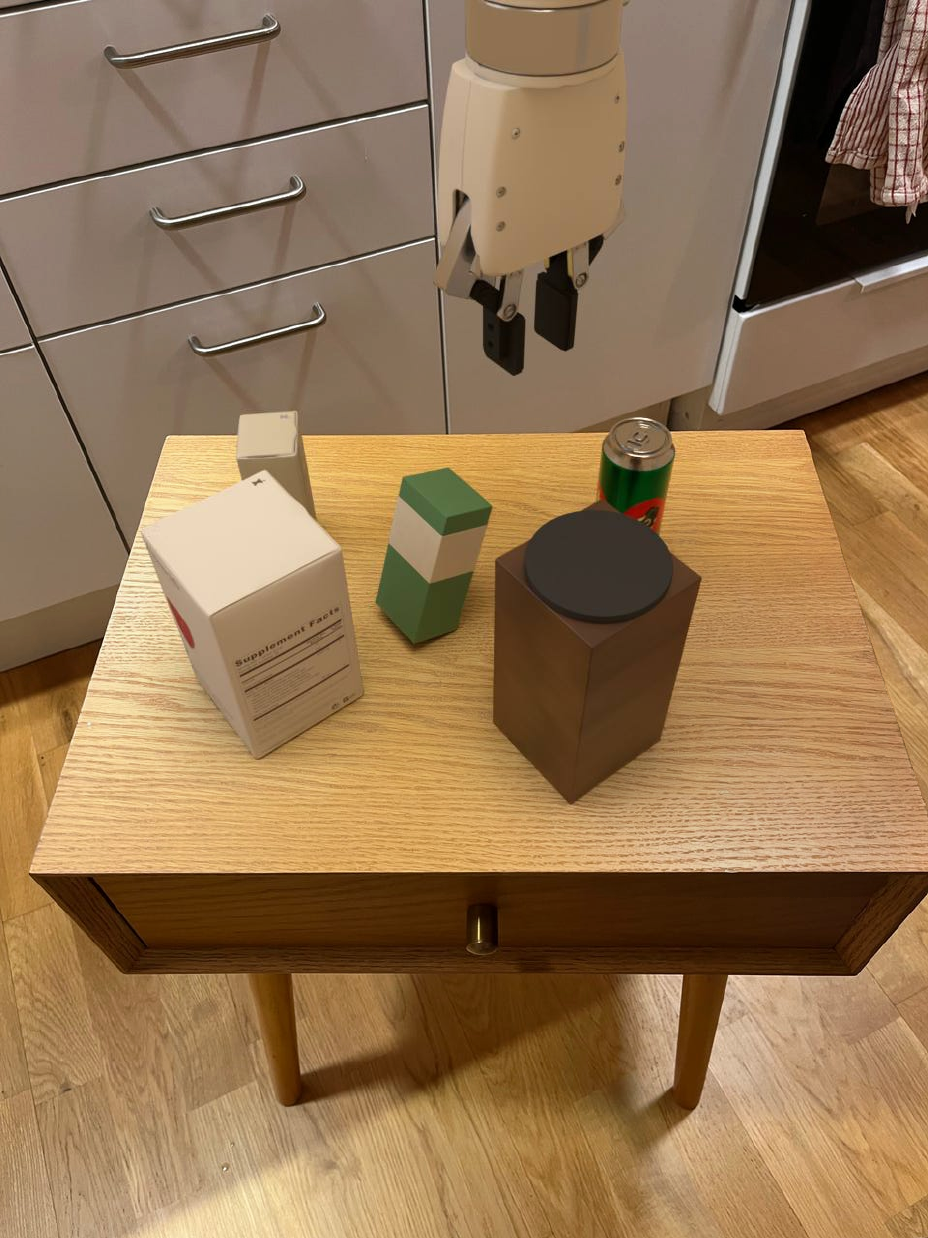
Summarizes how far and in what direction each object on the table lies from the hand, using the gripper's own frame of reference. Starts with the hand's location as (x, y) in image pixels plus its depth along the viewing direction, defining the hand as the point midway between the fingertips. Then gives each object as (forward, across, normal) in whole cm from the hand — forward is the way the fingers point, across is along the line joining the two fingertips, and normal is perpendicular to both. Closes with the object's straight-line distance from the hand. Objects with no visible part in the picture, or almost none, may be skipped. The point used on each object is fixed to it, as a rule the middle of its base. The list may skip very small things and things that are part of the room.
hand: (528, 349), depth 60 cm
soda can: (+19, -6, +4) cm, 21 cm away
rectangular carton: (+19, +21, -1) cm, 29 cm away
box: (+19, +13, -13) cm, 27 cm away
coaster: (+3, +7, +14) cm, 16 cm away
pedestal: (+19, +7, +14) cm, 25 cm away
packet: (+14, +6, 0) cm, 15 cm away
